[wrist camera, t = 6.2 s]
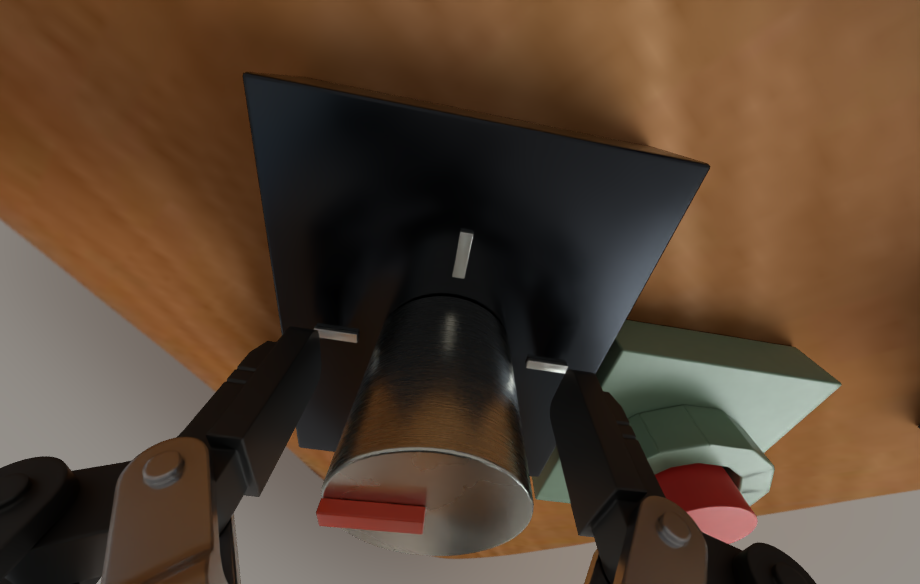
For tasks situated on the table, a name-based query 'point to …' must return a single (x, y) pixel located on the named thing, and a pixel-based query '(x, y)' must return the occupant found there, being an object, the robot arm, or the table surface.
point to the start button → (709, 500)
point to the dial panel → (453, 232)
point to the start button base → (704, 401)
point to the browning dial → (433, 437)
